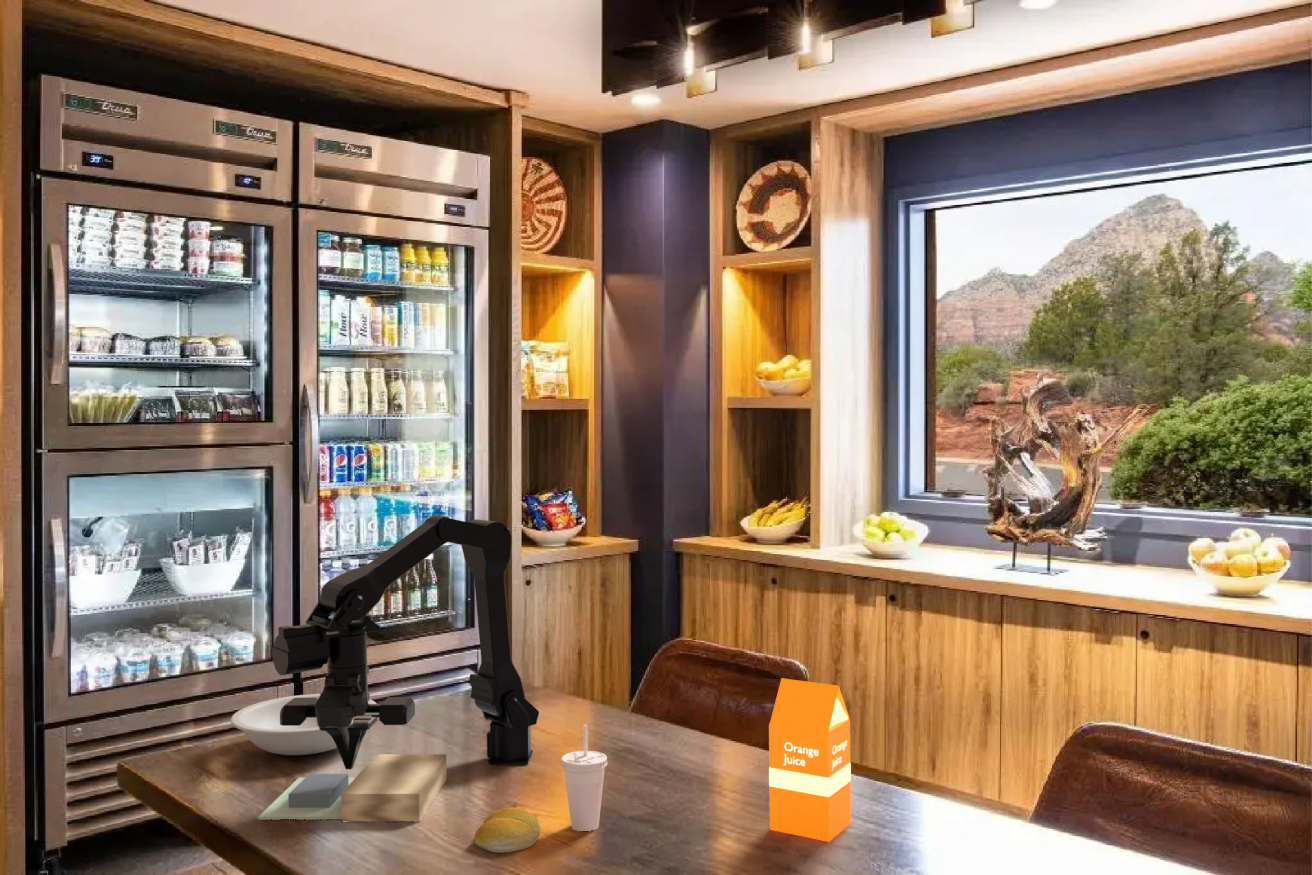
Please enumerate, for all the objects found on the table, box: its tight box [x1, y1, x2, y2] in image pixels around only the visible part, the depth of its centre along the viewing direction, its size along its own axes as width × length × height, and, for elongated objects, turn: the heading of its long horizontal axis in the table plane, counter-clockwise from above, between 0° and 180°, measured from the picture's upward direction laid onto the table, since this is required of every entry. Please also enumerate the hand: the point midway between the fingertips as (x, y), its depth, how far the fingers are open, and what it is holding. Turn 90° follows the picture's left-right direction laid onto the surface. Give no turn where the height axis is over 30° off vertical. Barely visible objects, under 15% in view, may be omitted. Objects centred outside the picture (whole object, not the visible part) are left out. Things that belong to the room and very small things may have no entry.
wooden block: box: [341, 753, 448, 823], centre depth 170 cm, size 11×18×4 cm, turn 178°
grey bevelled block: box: [289, 773, 349, 808], centre depth 170 cm, size 6×9×2 cm, turn 178°
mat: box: [257, 776, 357, 821], centre depth 171 cm, size 12×17×1 cm
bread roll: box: [473, 806, 541, 854], centre depth 153 cm, size 8×9×4 cm
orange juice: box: [768, 677, 852, 842], centre depth 157 cm, size 8×9×20 cm
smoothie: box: [560, 724, 608, 832], centre depth 158 cm, size 6×6×14 cm
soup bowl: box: [230, 693, 378, 756], centre depth 195 cm, size 24×24×7 cm
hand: (349, 768), depth 170 cm, fingers closed
